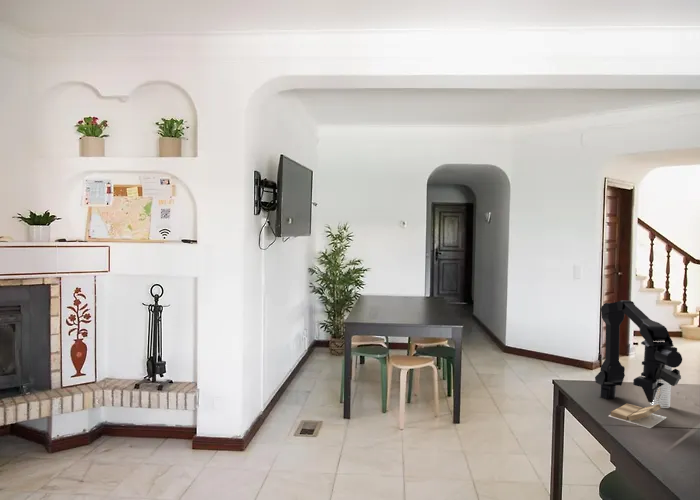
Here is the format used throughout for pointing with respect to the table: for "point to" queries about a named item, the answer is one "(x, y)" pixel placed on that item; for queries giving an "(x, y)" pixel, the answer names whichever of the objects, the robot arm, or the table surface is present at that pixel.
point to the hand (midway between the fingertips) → (650, 402)
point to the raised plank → (644, 412)
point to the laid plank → (625, 411)
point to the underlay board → (646, 420)
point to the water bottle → (663, 393)
